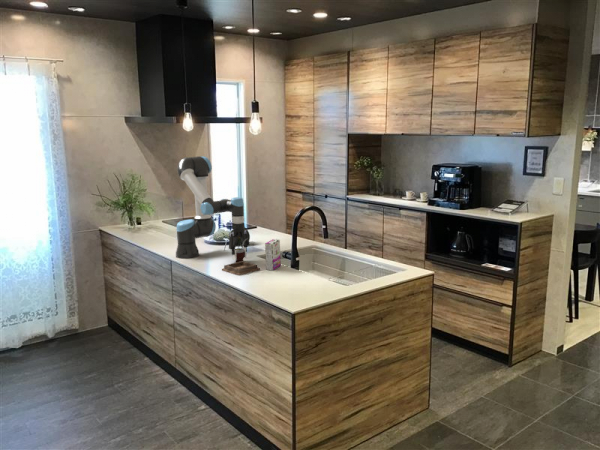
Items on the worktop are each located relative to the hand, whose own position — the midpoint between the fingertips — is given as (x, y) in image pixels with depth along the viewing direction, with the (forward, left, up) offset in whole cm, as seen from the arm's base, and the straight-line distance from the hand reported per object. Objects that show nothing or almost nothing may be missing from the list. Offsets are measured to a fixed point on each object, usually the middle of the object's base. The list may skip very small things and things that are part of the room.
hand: (239, 258), depth 324 cm
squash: (-40, +31, -3) cm, 51 cm away
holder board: (+15, -11, -2) cm, 19 cm away
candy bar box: (+26, +5, -3) cm, 27 cm away
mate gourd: (0, 0, -2) cm, 2 cm away
